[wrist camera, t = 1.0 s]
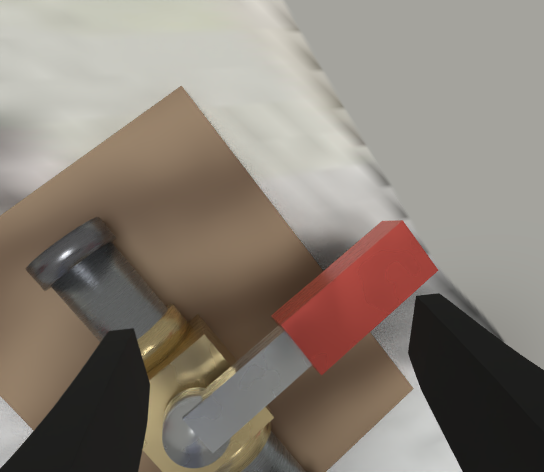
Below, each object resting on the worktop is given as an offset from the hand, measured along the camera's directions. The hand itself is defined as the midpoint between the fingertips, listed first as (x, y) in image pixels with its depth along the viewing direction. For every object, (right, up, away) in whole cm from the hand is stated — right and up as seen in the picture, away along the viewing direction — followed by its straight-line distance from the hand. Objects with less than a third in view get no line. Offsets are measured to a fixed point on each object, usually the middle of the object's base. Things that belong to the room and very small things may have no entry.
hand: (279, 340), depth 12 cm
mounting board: (-5, -3, +13) cm, 14 cm away
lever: (+1, -2, +8) cm, 8 cm away
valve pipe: (-5, -5, +13) cm, 14 cm away
